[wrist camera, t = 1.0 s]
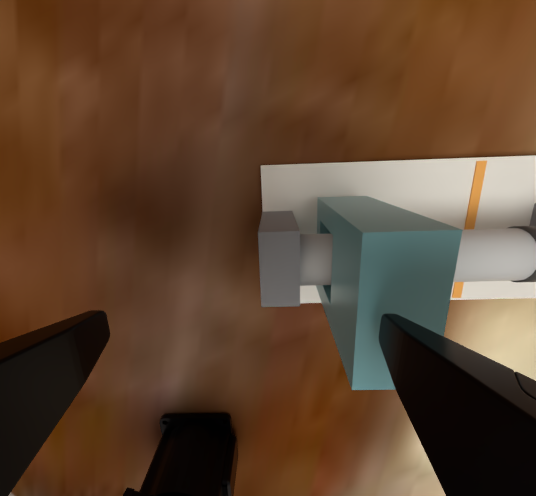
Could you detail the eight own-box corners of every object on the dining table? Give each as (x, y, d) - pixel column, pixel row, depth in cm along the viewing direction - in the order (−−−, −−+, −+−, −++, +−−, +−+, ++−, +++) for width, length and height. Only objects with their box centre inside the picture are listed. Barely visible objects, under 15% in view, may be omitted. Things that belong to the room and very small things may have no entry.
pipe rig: (266, 296, 22) (263, 355, 15) (261, 165, 19) (254, 166, 12) (524, 290, 21) (639, 349, 15) (560, 154, 18) (725, 149, 12)
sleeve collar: (315, 286, 19) (351, 389, 10) (317, 197, 17) (362, 232, 8) (360, 285, 19) (434, 388, 10) (366, 195, 17) (462, 229, 8)
